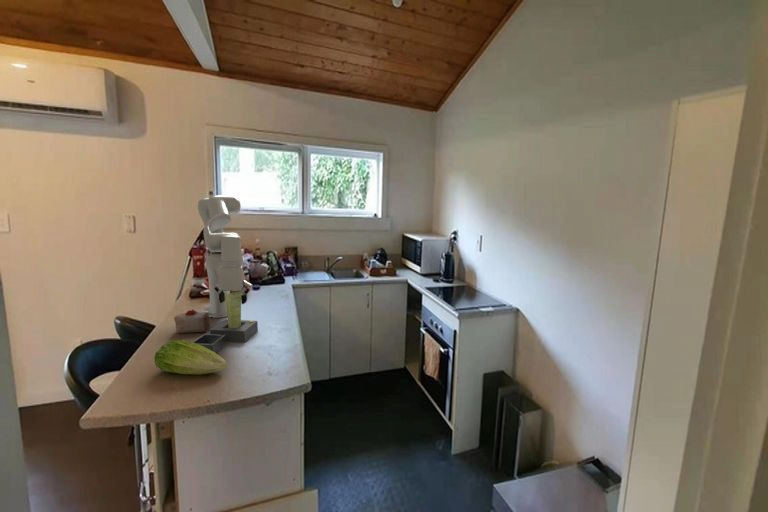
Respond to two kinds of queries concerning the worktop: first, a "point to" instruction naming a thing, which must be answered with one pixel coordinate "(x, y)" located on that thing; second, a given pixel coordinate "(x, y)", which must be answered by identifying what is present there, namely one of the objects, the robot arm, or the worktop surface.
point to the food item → (192, 322)
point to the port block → (236, 331)
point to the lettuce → (188, 358)
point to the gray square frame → (212, 341)
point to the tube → (233, 309)
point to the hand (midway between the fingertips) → (233, 302)
